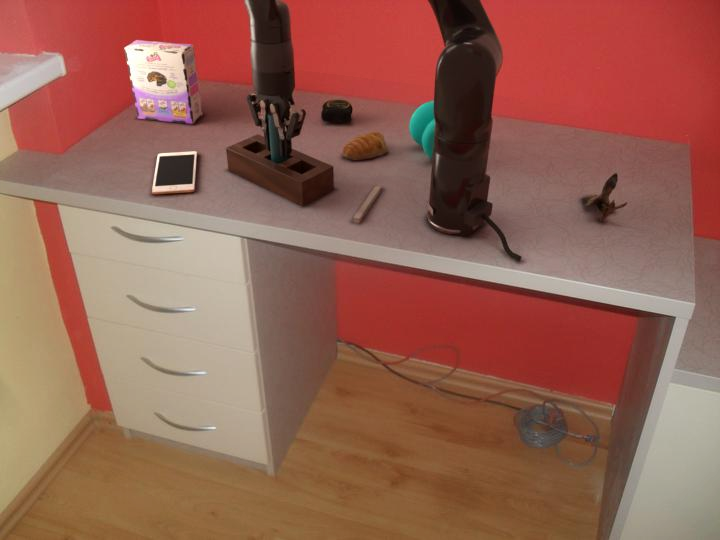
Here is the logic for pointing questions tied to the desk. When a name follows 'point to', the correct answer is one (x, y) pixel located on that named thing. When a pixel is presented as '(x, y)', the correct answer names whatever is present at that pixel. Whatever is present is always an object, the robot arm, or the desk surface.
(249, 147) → the hole block
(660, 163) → the desk surface
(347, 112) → the tape measure
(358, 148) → the pastry
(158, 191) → the cell phone
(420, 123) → the turquoise lobed shape
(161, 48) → the candy box
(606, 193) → the eagle figurine
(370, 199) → the beige square stick
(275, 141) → the peg
